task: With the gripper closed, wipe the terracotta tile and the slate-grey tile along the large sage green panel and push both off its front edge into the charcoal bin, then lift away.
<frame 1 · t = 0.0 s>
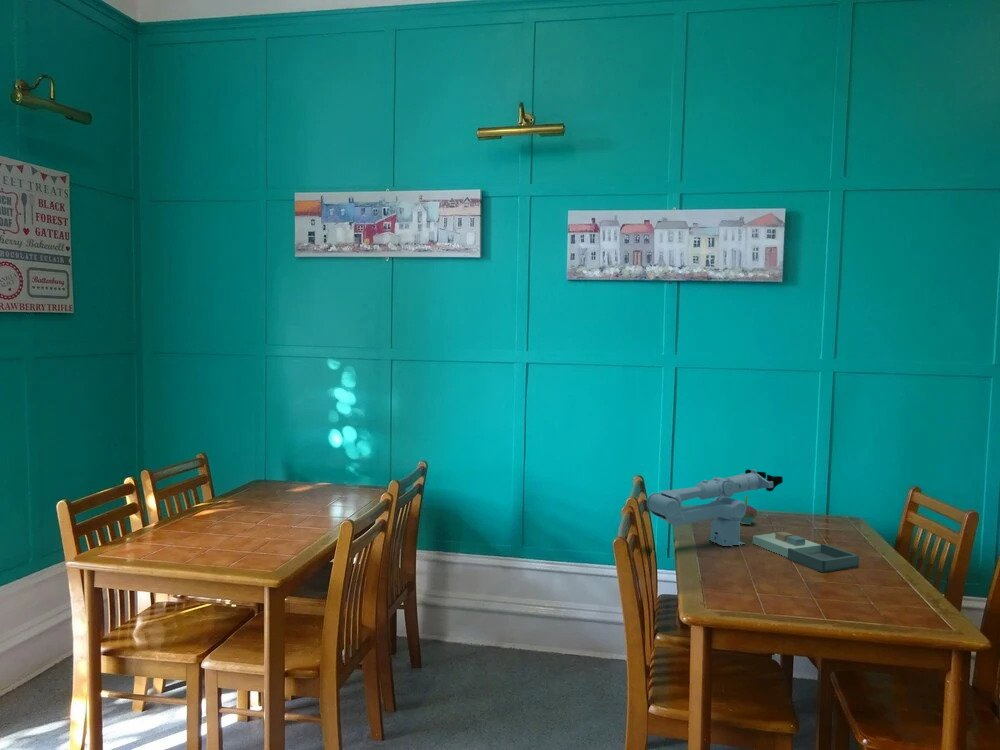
hand: (773, 477, 250), 22 cm above the table, tool horizontal, fingers open, 7 cm apart
bin: (822, 562, 224), on the table
tile 2: (795, 543, 234), point 3 cm above the table, touching large sage green panel
cupcake: (744, 524, 269), on the table
large sage green panel: (785, 549, 238), on the table
tile 1: (784, 539, 239), point 3 cm above the table, touching large sage green panel
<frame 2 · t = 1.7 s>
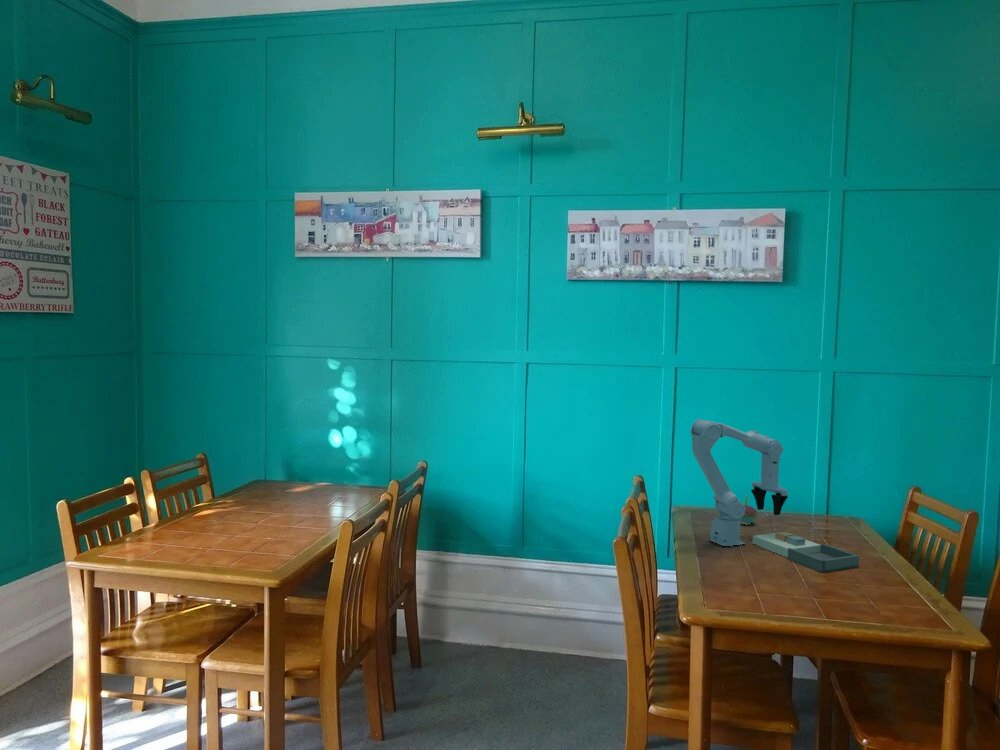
hand: (768, 512, 246), 10 cm above the table, tool pointing down, fingers open, 7 cm apart
nothing on the table moved.
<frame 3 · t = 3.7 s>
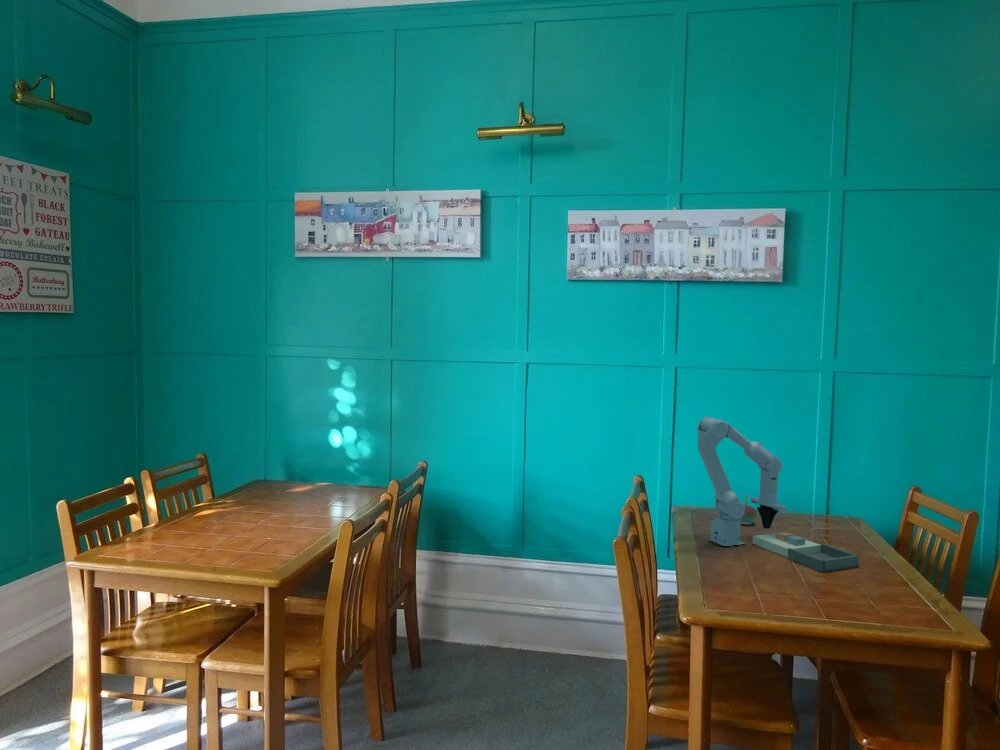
hand: (766, 527, 246), 5 cm above the table, tool pointing down, fingers closed
nothing on the table moved.
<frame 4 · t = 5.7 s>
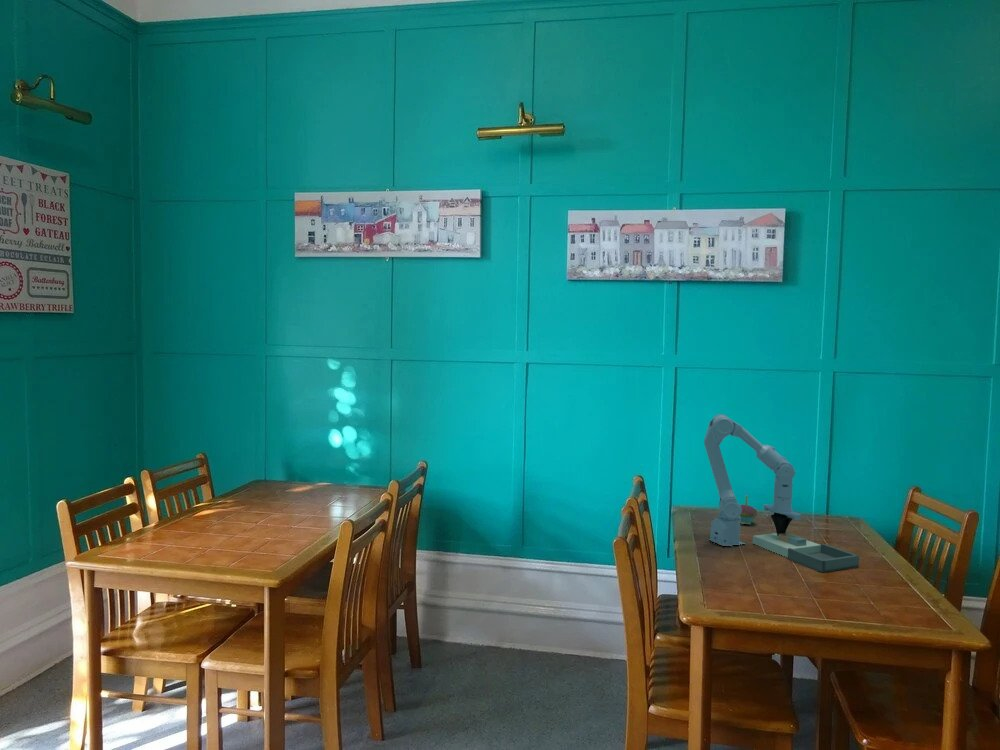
hand: (780, 536, 240), 4 cm above the table, tool pointing down, fingers closed
tile 2: (796, 544, 234), point 3 cm above the table, touching tile 1
tile 1: (787, 540, 237), point 3 cm above the table, touching gripper, tile 2
everything else where it was.
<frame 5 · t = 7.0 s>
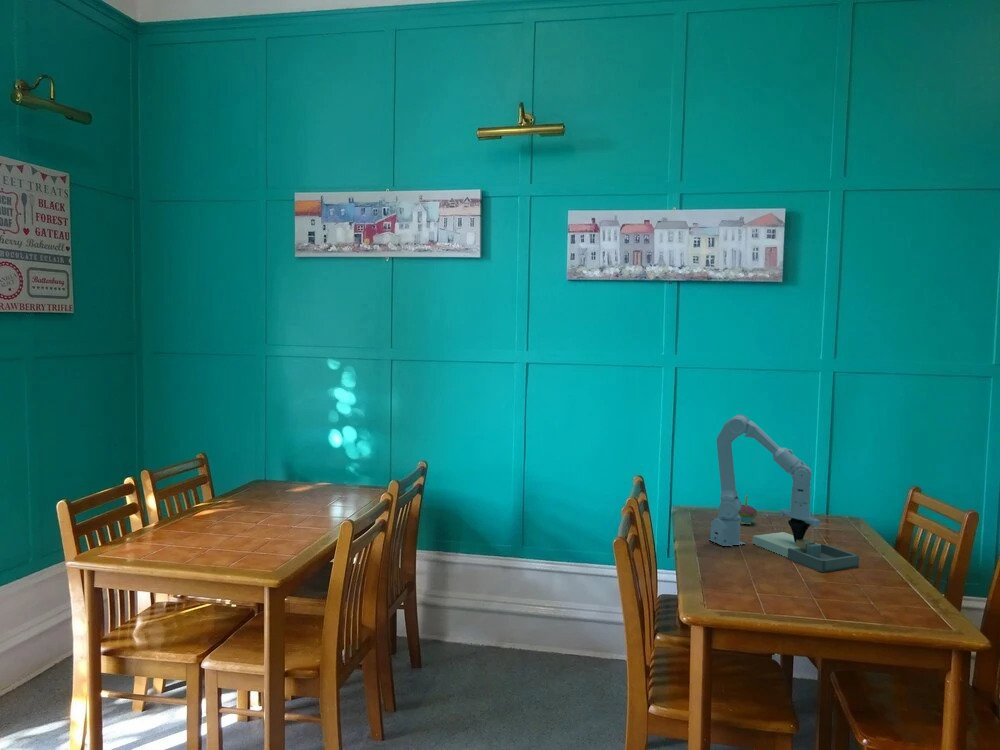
hand: (798, 542, 233), 4 cm above the table, tool pointing down, fingers closed
tile 2: (810, 550, 229), point 3 cm above the table, tilted 90°, touching bin
tile 1: (805, 547, 231), point 3 cm above the table, touching gripper, large sage green panel
everything else where it was.
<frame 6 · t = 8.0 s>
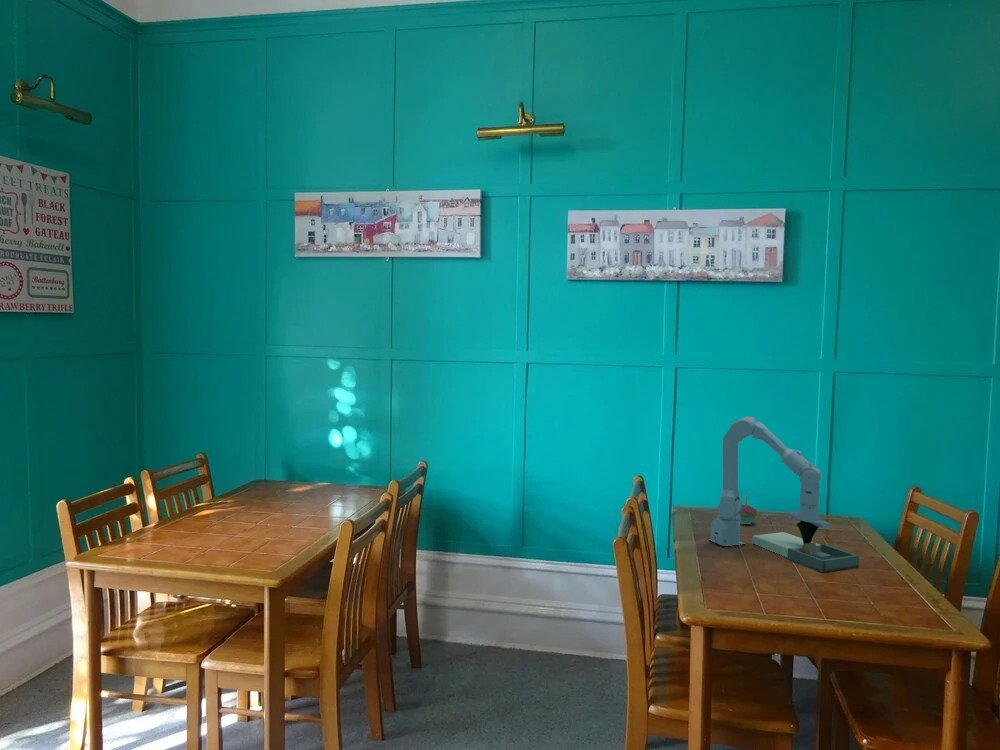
hand: (807, 545, 230), 4 cm above the table, tool pointing down, fingers closed, pressing on tile 1
tile 2: (821, 554, 225), point 3 cm above the table, tilted 180°, touching bin, tile 1
tile 1: (809, 551, 229), point 2 cm above the table, tilted 49°, touching bin, gripper, tile 2
everything else where it was.
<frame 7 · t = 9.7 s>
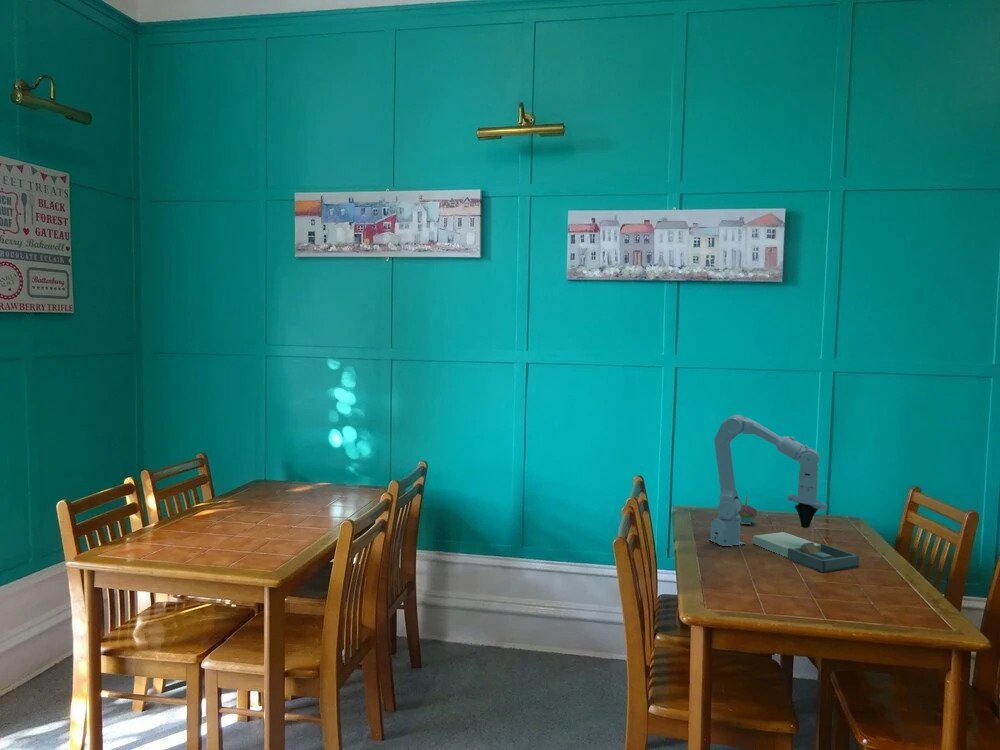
hand: (805, 527, 231), 9 cm above the table, tool pointing down, fingers closed
tile 2: (822, 554, 225), point 3 cm above the table, tilted 180°, touching bin
tile 1: (808, 551, 229), point 2 cm above the table, tilted 40°, touching bin, large sage green panel
everything else where it was.
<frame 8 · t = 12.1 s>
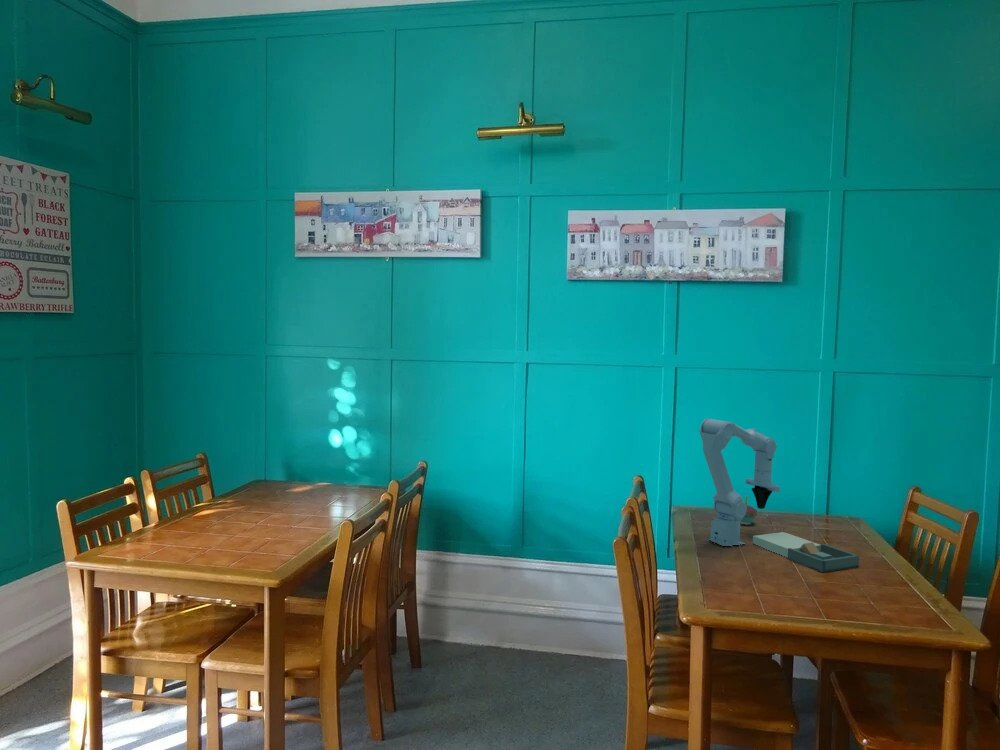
hand: (761, 508, 251), 10 cm above the table, tool pointing down, fingers closed
nothing on the table moved.
at the end: tile 2 inside the target area (0.7 cm from its centre), point 2.6 cm above the table; tile 1 inside the target area (5.9 cm from its centre), point 1.9 cm above the table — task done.
